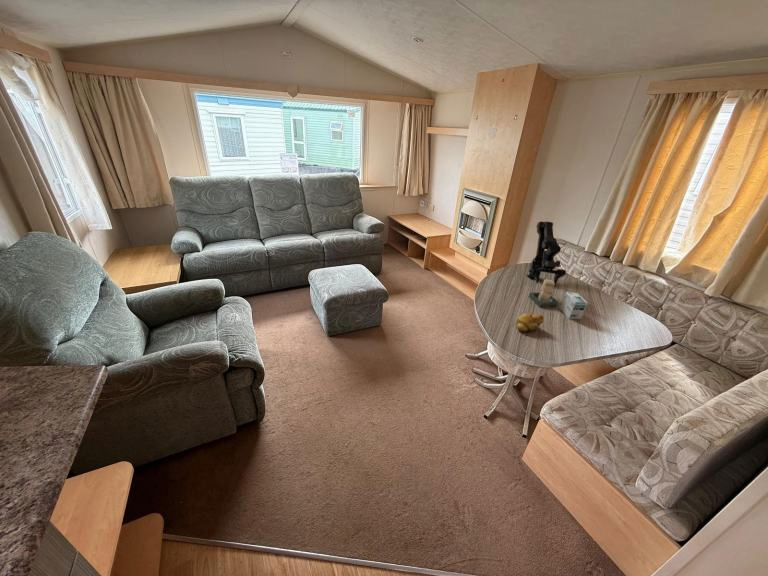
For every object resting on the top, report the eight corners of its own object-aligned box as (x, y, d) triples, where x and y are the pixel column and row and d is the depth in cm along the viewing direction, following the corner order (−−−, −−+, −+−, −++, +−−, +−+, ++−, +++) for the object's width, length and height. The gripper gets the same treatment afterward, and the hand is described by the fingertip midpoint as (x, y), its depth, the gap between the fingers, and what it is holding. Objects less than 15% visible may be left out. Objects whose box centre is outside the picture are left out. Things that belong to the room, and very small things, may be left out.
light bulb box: (581, 320, 164) (588, 302, 159) (568, 319, 164) (575, 301, 159) (570, 309, 173) (577, 292, 168) (558, 308, 173) (565, 291, 168)
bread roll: (523, 335, 148) (528, 322, 144) (508, 324, 155) (512, 311, 151) (541, 330, 153) (547, 316, 149) (526, 319, 161) (530, 306, 157)
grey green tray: (528, 297, 182) (529, 292, 181) (545, 296, 184) (546, 292, 183) (539, 307, 173) (541, 302, 171) (556, 306, 174) (558, 302, 173)
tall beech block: (537, 298, 180) (544, 279, 174) (546, 299, 180) (553, 280, 174) (539, 302, 177) (546, 282, 171) (547, 303, 176) (554, 284, 170)
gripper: (535, 252, 176) (533, 277, 172) (571, 257, 173) (569, 283, 169) (529, 259, 187) (526, 283, 183) (563, 264, 183) (560, 289, 179)
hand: (545, 284), depth 178 cm, fingers open, 9 cm apart
